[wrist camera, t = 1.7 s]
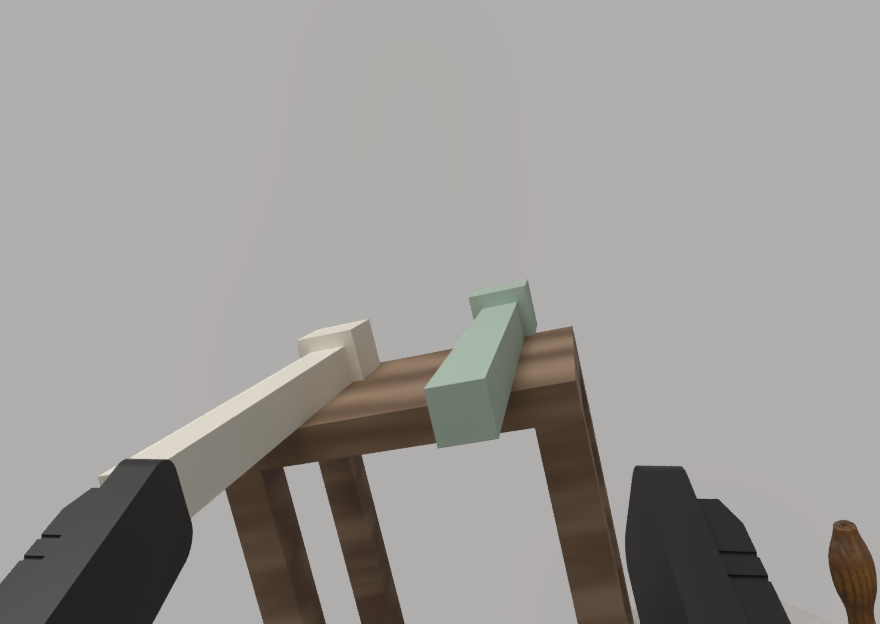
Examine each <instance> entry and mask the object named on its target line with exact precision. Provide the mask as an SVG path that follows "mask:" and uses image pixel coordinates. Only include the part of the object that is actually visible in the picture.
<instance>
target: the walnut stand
mask: <svg viewBox="0 0 880 624" xmlns="http://www.w3.org/2000/svg"><path fill="white" fill-rule="evenodd" d="M452 350H453V349H450V350H444V351H439V352H434V353H429V354H423V355H418V356H413V357H408V358H402V359H397V360H392V361H386V362H381V363H380V366H379V367H378V368H377V369H375V370H374V371H373V372H372V373H371V374H370V375H369V376H367V377H366V378H365V379H364V380H361V381H355V382H352V383H351V384H350V385H349V386H348V387H346V388H345V389H344V390H343V391H342V392H340V393H339V394H338V395H337V396H336V397H334V398H333V399H332V400H331V401H330V402H328V403H327V404H326V405H325V406H324V407H323V408H321V409H320V410H319V411H318V412H317V413H315V414H314V415H313V416H312V417H311V418H309V419H308V420H307V421H306V422H305V423H303V424H302V425H301V426H300V427H299V428H297V429H296V430H295V431H294V432H293V433H292V434H290V435H289V436H288V437H287V438H286V439H284V440H283V441H282V442H281V443H280V444H278V445H277V446H276V447H275V448H274V449H272V450H271V451H270V452H269V453H268V454H266V455H265V456H264V457H263V458H262V459H261V460H259V461H258V462H257V463H256V464H255V465H253V466H252V467H251V468H250V469H249V470H247V471H246V472H245V473H244V474H243V475H241V476H240V477H239V478H238V479H237V480H235V481H234V482H233V483H232V484H231V485H230V486H228V487H227V488H226V489H225V490H226V493H227V497H228V500H229V503H230V507H231V511H232V514H233V517H234V521H235V525H236V528H237V532H238V535H239V538H240V542H241V546H242V549H243V553H244V556H245V560H246V563H247V567H248V570H249V574H250V577H251V580H252V584H253V588H254V591H255V595H256V598H257V602H258V605H259V609H260V612H261V615H262V619H263V623H264V624H326V623H325V619H324V615H323V612H322V608H321V604H320V601H319V597H318V594H317V590H316V586H315V582H314V579H313V576H312V571H311V568H310V564H309V560H308V557H307V553H306V549H305V546H304V542H303V538H302V535H301V531H300V527H299V524H298V520H297V516H296V513H295V509H294V505H293V502H292V498H291V495H290V491H289V487H288V483H287V480H286V476H285V472H284V469H283V467H285V466H292V465H299V464H305V463H311V462H317V461H318V462H319V465H320V469H321V473H322V477H323V480H324V484H325V488H326V492H327V495H328V499H329V503H330V507H331V511H332V514H333V518H334V522H335V526H336V529H337V533H338V537H339V541H340V544H341V548H342V552H343V555H344V560H345V563H346V567H347V571H348V575H349V578H350V582H351V586H352V589H353V593H354V597H355V601H356V605H357V609H358V612H359V616H360V620H361V624H404V620H403V616H402V612H401V608H400V604H399V600H398V596H397V592H396V588H395V584H394V581H393V577H392V573H391V569H390V565H389V561H388V557H387V553H386V549H385V546H384V541H383V538H382V534H381V530H380V526H379V522H378V518H377V515H376V510H375V506H374V502H373V499H372V495H371V491H370V487H369V483H368V480H367V475H366V471H365V467H364V463H363V459H362V456H361V455H363V454H369V453H375V452H382V451H388V450H395V449H401V448H408V447H414V446H419V445H427V444H433V443H436V439H435V435H434V431H433V426H432V422H431V418H430V414H429V410H428V406H427V402H426V397H425V393H424V388H425V386H426V385H427V384H428V382H429V381H430V380H431V378H432V377H433V376H434V374H435V373H436V371H437V370H438V369H439V367H440V366H441V365H442V363H443V362H444V361H445V359H446V358H447V356H448V355H449V354H450V352H451V351H452ZM529 428H535V430H536V435H537V439H538V444H539V448H540V453H541V457H542V462H543V467H544V471H545V476H546V480H547V485H548V490H549V494H550V499H551V503H552V508H553V512H554V517H555V521H556V526H557V531H558V535H559V540H560V544H561V549H562V553H563V558H564V562H565V567H566V572H567V576H568V581H569V585H570V590H571V594H572V599H573V603H574V608H575V612H576V617H577V622H578V624H634V621H633V616H632V611H631V606H630V602H629V597H628V592H627V588H626V582H625V577H624V573H623V568H622V563H621V558H620V553H619V549H618V544H617V539H616V534H615V530H614V525H613V520H612V515H611V510H610V505H609V501H608V496H607V491H606V486H605V482H604V476H603V472H602V468H601V462H600V457H599V452H598V447H597V443H596V438H595V433H594V428H593V423H592V419H591V414H590V409H589V404H588V400H587V395H586V390H585V385H584V380H583V375H582V370H581V366H580V361H579V356H578V351H577V347H576V341H575V337H574V332H573V327H572V326H571V327H566V328H560V329H555V330H550V331H545V332H539V333H535V335H530V336H525V337H524V341H523V345H522V349H521V353H520V357H519V361H518V365H517V368H516V372H515V376H514V380H513V384H512V388H511V392H510V396H509V400H508V404H507V408H506V412H505V416H504V419H503V423H502V427H501V431H500V433H503V432H510V431H516V430H523V429H529Z"/></svg>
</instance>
